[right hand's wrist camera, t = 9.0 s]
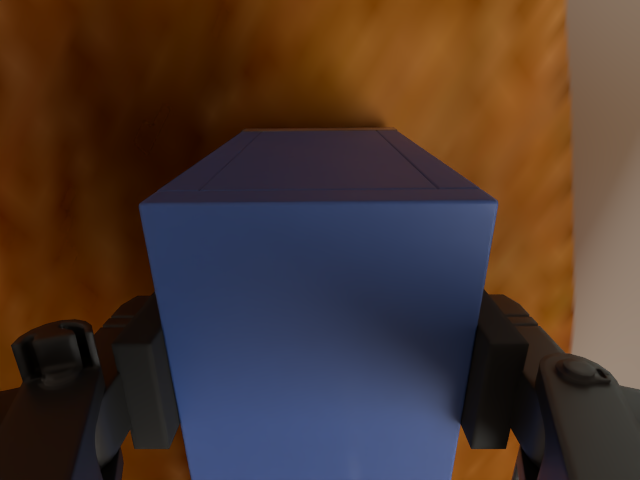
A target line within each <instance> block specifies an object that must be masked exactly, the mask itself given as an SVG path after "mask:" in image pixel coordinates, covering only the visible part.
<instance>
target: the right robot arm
mask: <svg viewBox="0 0 640 480" xmlns="http://www.w3.org/2000/svg"><path fill="white" fill-rule="evenodd" d="M11 347H12V350H13V353H14V356H15V359H16V362H17V365H18V368H19V371H20V374H21V377H22V380H23V383H22V385H21V387H19V388H15V389H10V390H5V391H0V480H121V479H122V471H123V464H124V463H123V456H122V451H121V447H120V446H121V444H122V443H123V441H124V439H125V437H126V436H127V434H128V432H129V430H130V431H131V435H132V440H133V444H134V449H169V448H170V446H171V443H172V441H173V438H174V436H175V434H176V431H177V429H178V427H179V424H180V419H179V413H178V408H177V403H176V398H175V393H174V387H173V382H172V377H171V372H170V367H169V361H168V356H167V351H166V346H165V341H164V336H163V330H162V325H161V320H160V315H159V310H158V304H157V299H156V294H155V292H154V293H153V294H152V295H151V296H136V297H135V298H133V299H131V300H130V301H128V302H126V303H124V304H123V305H121V306H120V307H119V308H118V310H117V311H116V312H115V313H114V314H113V315H112V316H111V318H109V319H108V320H107V321H106V323H105V324H104V325H103V328H100V329H99V330H98V331H97V332H96V333H95V334H93V330H92V326H91V325H90V324H89V323H87V322H86V321H82V320H76V319H73V320H61V321H57V322H52V323H48V324H45V325H42V326H40V327H37V328H35V329H32V330H30V331H29V332H27V333H25V334H24V335H22V336H20V337H19V338H18V339H17V340H16V341H15V342H14V343H13V344H12V345H11ZM461 426H462V428H463V430H464V433H465V435H466V438H467V440H468V442H469V445H470V447H471V449H506V446H507V442H508V437H509V433H510V428H511V429H512V431H513V433H514V435H515V436H516V438H517V440H518V442H519V443H520V447H519V451H518V456H517V460H516V464H515V468H514V472H513V476H512V480H640V390H639V389H634V388H629V387H624V386H620V385H619V384H618V382H617V381H616V379H615V378H614V377H613V376H612V374H611V373H610V372H609V371H607V370H606V369H604V368H603V367H601V366H600V365H599V364H597V363H595V362H592V361H590V360H588V359H586V358H583V357H580V356H576V355H572V354H566V353H565V352H564V351H563V350H562V349H561V348H560V347H559V346H558V345H557V344H556V343H555V342H554V341H553V340H552V339H551V337H550V336H549V335H548V334H547V333H546V332H545V331H544V330H543V329H542V328H541V327H540V326H538V324H537V322H536V321H535V320H534V319H533V318H532V317H529V314H528V313H527V312H526V311H525V310H524V309H523V308H522V306H521V305H520V304H518V303H517V302H515V301H513V300H512V299H510V298H508V297H506V296H505V295H488V293H487V292H486V291H485V290H483V296H482V301H481V307H480V313H479V319H478V325H477V331H476V336H475V342H474V348H473V354H472V360H471V366H470V371H469V377H468V383H467V389H466V395H465V401H464V406H463V412H462V418H461Z"/></svg>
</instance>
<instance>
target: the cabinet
mask: <svg viewBox="0 0 640 480" xmlns="http://www.w3.org/2000/svg"><path fill="white" fill-rule="evenodd" d="M497 208H498V201H497V200H496V199H495V198H493V197H492V196H490V195H489V194H487V193H486V192H484V191H483V190H481V189H480V188H479V187H477V186H476V185H475V184H473V183H472V182H470V181H469V180H467V179H466V178H464V177H463V176H462V175H460V174H459V173H457V172H456V171H454V170H453V169H451V168H450V167H448V166H447V165H446V164H444V163H443V162H441V161H440V160H438V159H437V158H435V157H434V156H433V155H431V154H430V153H428V152H427V151H425V150H424V149H422V148H421V147H419V146H418V145H417V144H415V143H414V142H412V141H411V140H409V139H408V138H406V137H405V136H404V135H402V134H401V133H399V132H398V131H397V129H395V128H394V127H376V128H262V129H244V130H242V131H241V133H239V134H238V135H236V136H235V137H234V138H232V139H231V140H229V141H228V142H226V143H225V144H224V145H222V146H221V147H219V148H218V149H216V150H215V151H213V152H212V153H211V154H209V155H208V156H206V157H205V158H203V159H202V160H201V161H199V162H198V163H196V164H195V165H193V166H192V167H190V168H189V169H188V170H186V171H185V172H183V173H182V174H180V175H179V176H178V177H176V178H175V179H173V180H172V181H170V182H169V183H168V184H166V185H165V186H163V187H162V188H160V189H159V190H157V192H155V193H154V194H152V195H151V196H149V197H148V198H147V199H145V200H144V201H142V202H141V203H140V204H139V211H140V216H141V221H142V226H143V232H144V237H145V242H146V247H147V252H148V258H149V263H150V268H151V273H152V278H153V284H154V289H155V294H156V299H157V304H158V310H159V315H160V320H161V325H162V330H163V336H164V341H165V346H166V351H167V356H168V361H169V367H170V372H171V377H172V382H173V387H174V393H175V398H176V403H177V408H178V413H179V419H180V424H181V429H182V434H183V439H184V445H185V450H186V455H187V460H188V465H189V471H190V476H191V480H451V477H452V471H453V465H454V459H455V453H456V447H457V441H458V436H459V430H460V424H461V418H462V412H463V406H464V401H465V395H466V389H467V383H468V377H469V371H470V366H471V360H472V354H473V348H474V342H475V336H476V331H477V325H478V319H479V313H480V307H481V301H482V296H483V290H484V284H485V278H486V272H487V266H488V261H489V255H490V249H491V243H492V237H493V231H494V226H495V220H496V214H497Z"/></svg>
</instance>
